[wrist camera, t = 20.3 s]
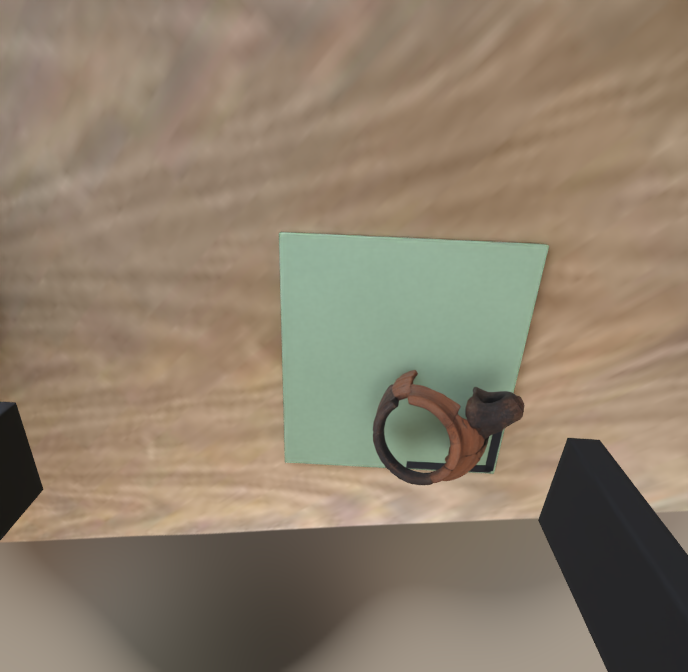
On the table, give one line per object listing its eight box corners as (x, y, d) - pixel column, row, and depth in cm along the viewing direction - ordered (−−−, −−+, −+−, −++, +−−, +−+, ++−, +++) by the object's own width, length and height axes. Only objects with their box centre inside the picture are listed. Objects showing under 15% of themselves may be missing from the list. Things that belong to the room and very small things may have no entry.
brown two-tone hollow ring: (431, 467, 43) (397, 511, 36) (384, 380, 43) (341, 407, 37) (552, 425, 36) (540, 470, 29) (495, 324, 37) (469, 344, 30)
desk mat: (285, 458, 43) (284, 463, 42) (280, 231, 33) (278, 233, 33) (492, 469, 43) (494, 474, 42) (546, 243, 33) (549, 246, 33)
